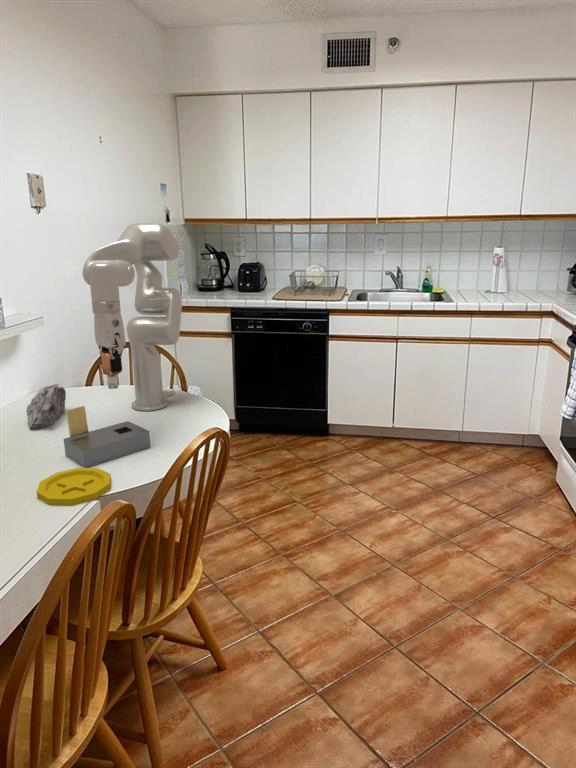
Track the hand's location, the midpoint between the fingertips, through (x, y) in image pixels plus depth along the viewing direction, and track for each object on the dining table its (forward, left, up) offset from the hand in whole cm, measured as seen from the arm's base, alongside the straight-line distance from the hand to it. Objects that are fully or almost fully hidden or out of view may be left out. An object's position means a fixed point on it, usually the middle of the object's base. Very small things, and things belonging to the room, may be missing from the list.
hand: (111, 369), depth 165 cm
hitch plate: (+6, +6, -22) cm, 24 cm away
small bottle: (0, 0, -5) cm, 5 cm away
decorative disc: (+23, +21, -23) cm, 39 cm away
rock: (+8, -33, -22) cm, 41 cm away
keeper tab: (+12, +1, -13) cm, 18 cm away
